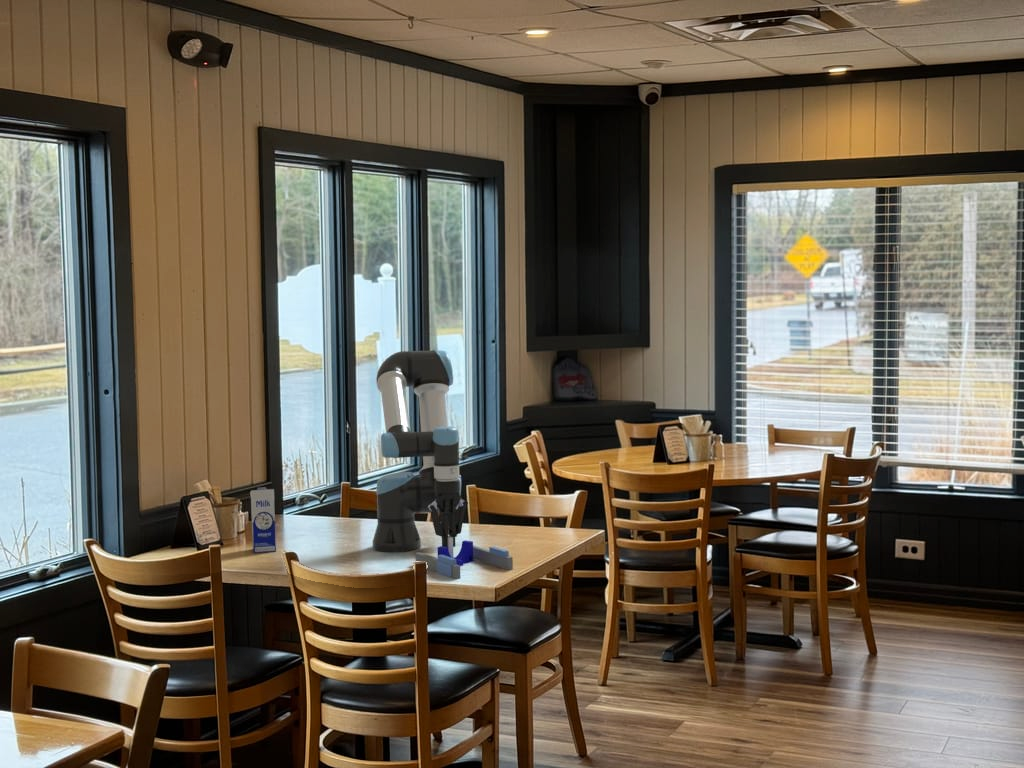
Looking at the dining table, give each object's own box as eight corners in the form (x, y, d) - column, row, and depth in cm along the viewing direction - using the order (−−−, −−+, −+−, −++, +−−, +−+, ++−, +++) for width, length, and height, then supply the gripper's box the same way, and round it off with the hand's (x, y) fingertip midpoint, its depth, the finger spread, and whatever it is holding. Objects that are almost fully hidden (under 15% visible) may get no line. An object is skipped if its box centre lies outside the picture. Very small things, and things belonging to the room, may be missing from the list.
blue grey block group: (414, 564, 352) (414, 548, 351) (470, 556, 362) (470, 539, 362) (454, 579, 333) (454, 561, 332) (512, 569, 343) (512, 552, 343)
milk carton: (253, 553, 374) (251, 489, 372) (252, 549, 380) (249, 486, 379) (276, 551, 375) (274, 488, 374) (274, 547, 382) (272, 485, 381)
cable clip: (449, 569, 345) (448, 549, 345) (437, 567, 348) (437, 547, 348) (477, 562, 354) (476, 542, 354) (466, 560, 357) (465, 540, 357)
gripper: (433, 482, 346) (436, 563, 347) (472, 478, 353) (474, 557, 354) (421, 480, 352) (423, 559, 354) (459, 476, 359) (461, 553, 361)
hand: (449, 558), depth 354 cm, fingers closed
